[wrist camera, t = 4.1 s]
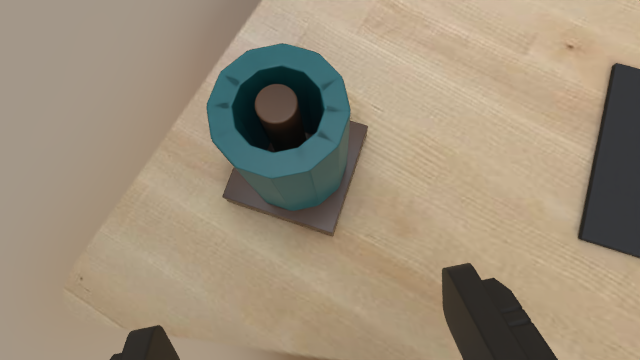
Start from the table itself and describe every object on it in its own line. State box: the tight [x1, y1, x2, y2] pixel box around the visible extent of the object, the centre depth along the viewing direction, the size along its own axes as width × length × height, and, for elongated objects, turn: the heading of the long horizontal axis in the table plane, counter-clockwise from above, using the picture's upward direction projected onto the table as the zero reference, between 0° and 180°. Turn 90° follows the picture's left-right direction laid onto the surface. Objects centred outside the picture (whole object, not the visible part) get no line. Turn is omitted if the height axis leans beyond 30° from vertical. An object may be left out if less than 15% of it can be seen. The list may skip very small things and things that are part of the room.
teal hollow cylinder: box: [207, 43, 350, 211], centre depth 22 cm, size 6×6×8 cm
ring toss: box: [223, 84, 368, 236], centre depth 22 cm, size 7×7×10 cm
